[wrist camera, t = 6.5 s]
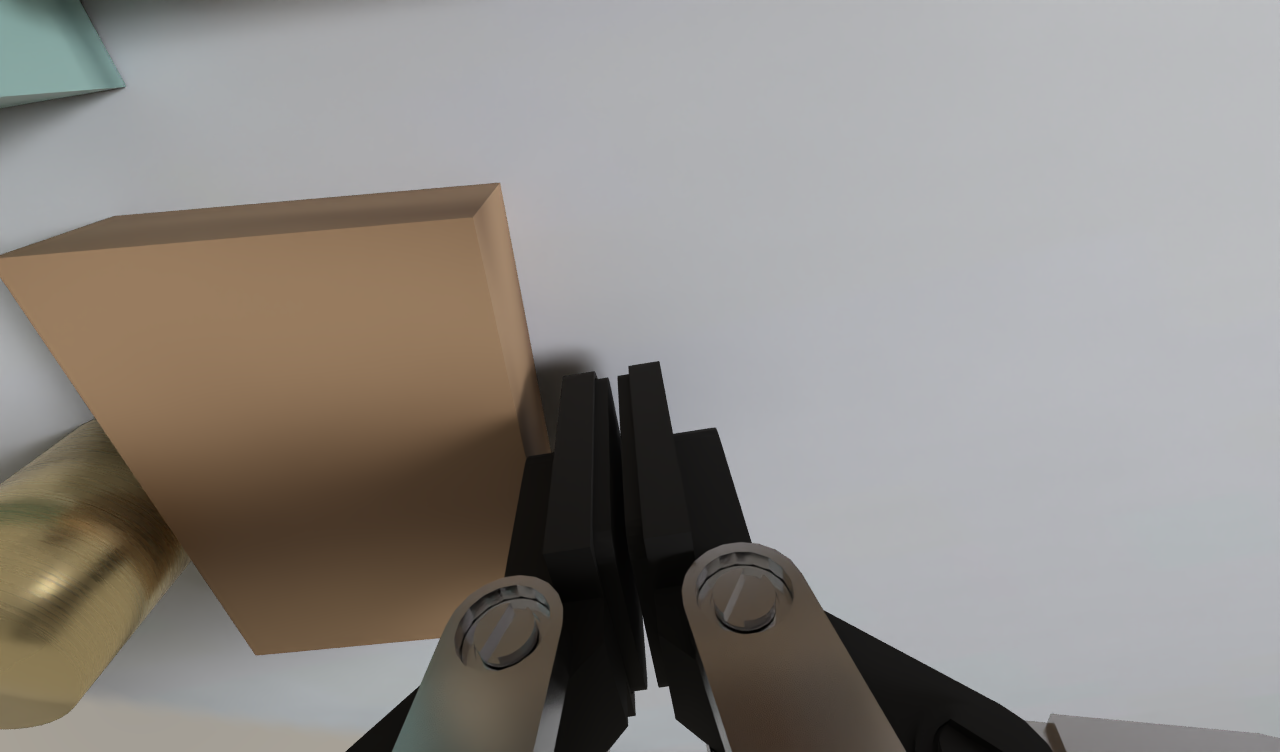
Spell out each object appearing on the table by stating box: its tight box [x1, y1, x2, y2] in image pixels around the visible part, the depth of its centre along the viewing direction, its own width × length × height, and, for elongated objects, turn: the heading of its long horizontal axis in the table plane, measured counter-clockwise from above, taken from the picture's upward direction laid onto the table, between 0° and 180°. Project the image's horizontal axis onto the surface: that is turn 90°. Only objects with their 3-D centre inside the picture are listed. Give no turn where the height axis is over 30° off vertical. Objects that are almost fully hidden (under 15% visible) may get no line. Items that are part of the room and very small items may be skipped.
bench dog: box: [0, 419, 191, 729], centre depth 10 cm, size 3×3×4 cm
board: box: [0, 183, 551, 655], centre depth 10 cm, size 8×6×2 cm
